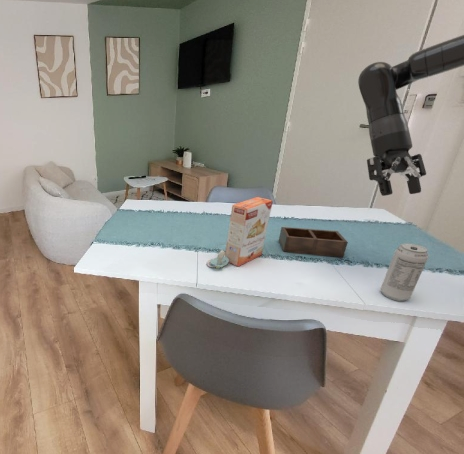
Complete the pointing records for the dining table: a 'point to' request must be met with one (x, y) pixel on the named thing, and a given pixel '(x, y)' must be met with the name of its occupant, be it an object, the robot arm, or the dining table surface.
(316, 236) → the wooden box with compartments
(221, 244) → the dining table surface
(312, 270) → the dining table surface
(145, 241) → the dining table surface
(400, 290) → the energy drink can
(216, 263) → the pacifier
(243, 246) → the cracker box
